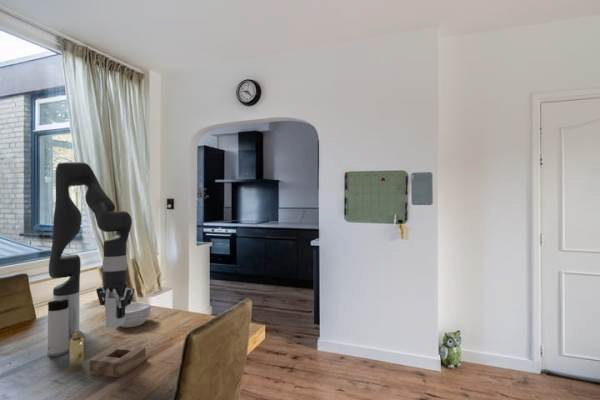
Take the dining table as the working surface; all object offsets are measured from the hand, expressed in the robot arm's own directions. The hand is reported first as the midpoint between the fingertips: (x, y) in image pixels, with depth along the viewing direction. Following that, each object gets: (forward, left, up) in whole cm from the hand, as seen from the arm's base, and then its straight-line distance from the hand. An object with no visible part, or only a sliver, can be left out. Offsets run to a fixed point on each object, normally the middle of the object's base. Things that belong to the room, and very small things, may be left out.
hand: (115, 317), depth 116 cm
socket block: (+3, -1, -16) cm, 17 cm away
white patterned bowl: (-19, +34, -17) cm, 42 cm away
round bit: (-10, -5, -16) cm, 20 cm away
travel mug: (-26, +3, -16) cm, 31 cm away
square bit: (0, 0, -3) cm, 3 cm away
